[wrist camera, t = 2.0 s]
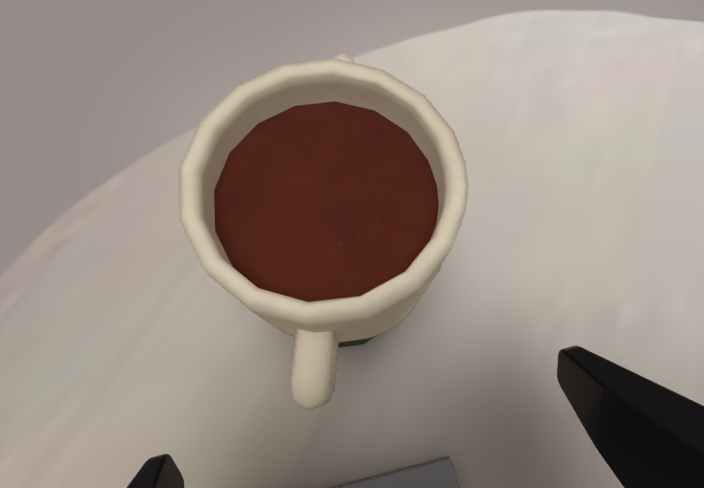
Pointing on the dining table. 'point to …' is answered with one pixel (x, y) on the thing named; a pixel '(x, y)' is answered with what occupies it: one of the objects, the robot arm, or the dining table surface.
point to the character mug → (323, 205)
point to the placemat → (413, 477)
